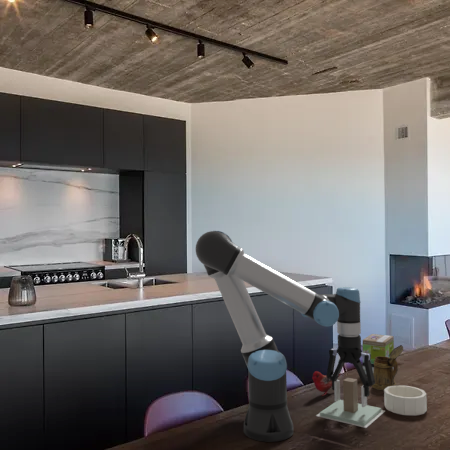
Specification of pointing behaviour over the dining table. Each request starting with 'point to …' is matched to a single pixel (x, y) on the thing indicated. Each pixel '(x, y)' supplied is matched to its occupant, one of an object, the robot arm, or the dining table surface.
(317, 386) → the decorative bird figurine
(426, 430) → the dining table surface
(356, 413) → the lid
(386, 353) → the tea box
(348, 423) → the mat
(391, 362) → the wooden mug
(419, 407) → the bowl
